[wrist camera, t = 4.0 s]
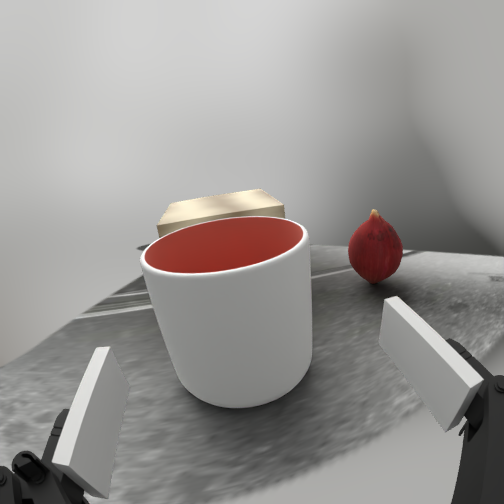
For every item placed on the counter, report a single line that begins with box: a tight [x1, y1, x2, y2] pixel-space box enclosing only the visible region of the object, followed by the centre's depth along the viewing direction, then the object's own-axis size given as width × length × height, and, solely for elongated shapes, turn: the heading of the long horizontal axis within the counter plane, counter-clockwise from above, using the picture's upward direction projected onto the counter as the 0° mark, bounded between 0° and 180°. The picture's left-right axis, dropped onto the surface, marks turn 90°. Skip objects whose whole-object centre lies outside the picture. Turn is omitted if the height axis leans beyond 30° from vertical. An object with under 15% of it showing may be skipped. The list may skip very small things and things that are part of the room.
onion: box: [348, 210, 403, 284], centre depth 28 cm, size 6×6×8 cm
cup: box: [140, 216, 312, 408], centre depth 19 cm, size 10×10×10 cm
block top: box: [157, 189, 285, 238], centre depth 30 cm, size 11×11×5 cm
